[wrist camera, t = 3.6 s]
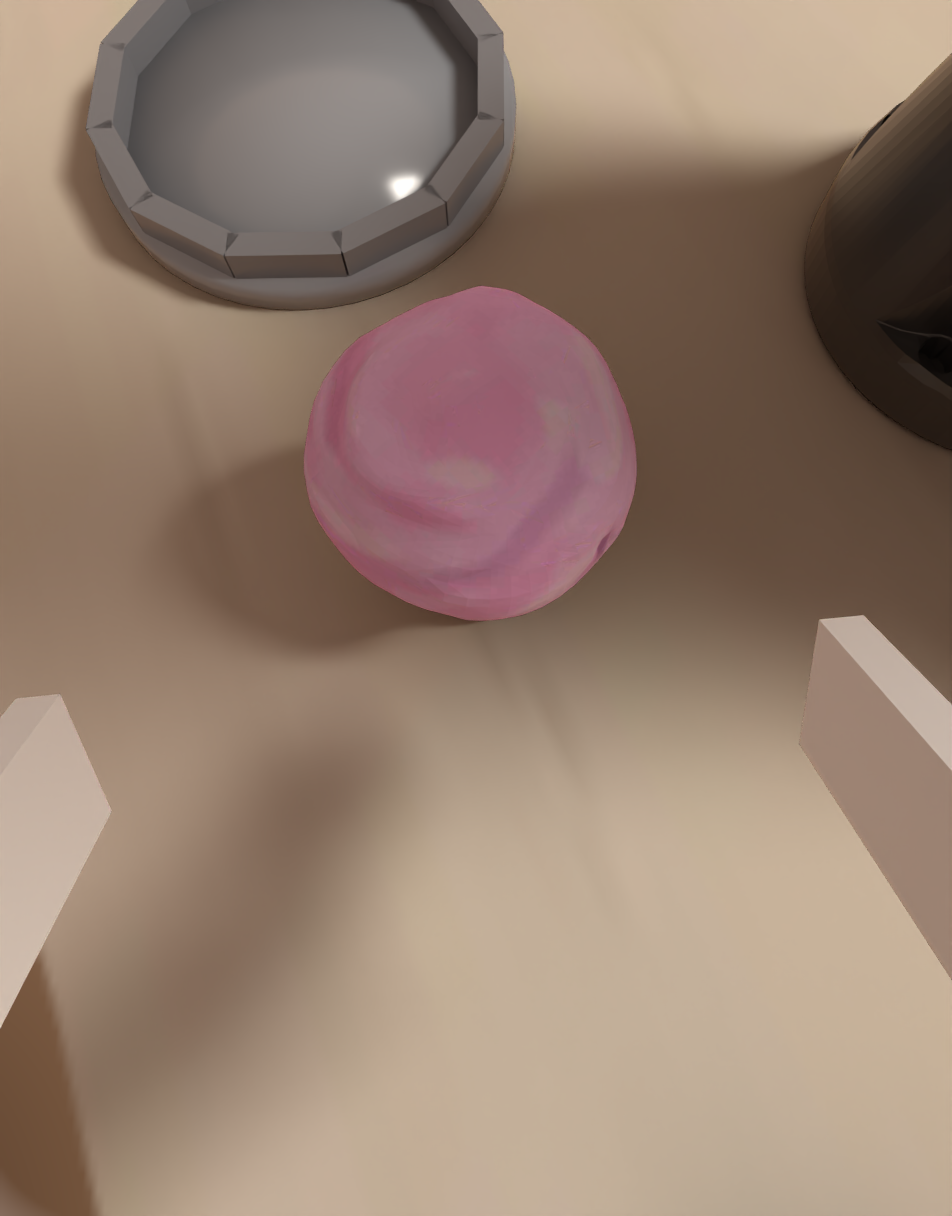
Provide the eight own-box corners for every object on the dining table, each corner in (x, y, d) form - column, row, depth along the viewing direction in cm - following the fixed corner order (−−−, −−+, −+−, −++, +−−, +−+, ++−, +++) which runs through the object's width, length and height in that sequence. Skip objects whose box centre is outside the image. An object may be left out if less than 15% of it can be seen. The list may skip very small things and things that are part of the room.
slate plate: (513, -24, 34) (514, -86, 31) (517, 306, 29) (519, 262, 27) (134, -14, 34) (108, -74, 32) (83, 313, 30) (47, 270, 27)
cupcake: (307, 582, 26) (198, 451, 17) (433, 389, 28) (400, 172, 19) (529, 708, 25) (550, 644, 15) (647, 496, 27) (731, 321, 17)
